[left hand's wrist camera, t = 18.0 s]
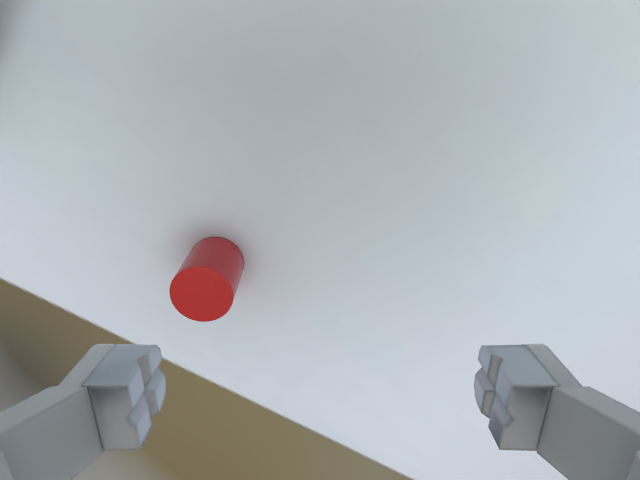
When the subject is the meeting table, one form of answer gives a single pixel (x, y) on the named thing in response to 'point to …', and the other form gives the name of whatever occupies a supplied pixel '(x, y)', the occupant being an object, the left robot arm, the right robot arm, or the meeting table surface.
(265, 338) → the meeting table surface
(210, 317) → the tin
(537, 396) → the left robot arm
